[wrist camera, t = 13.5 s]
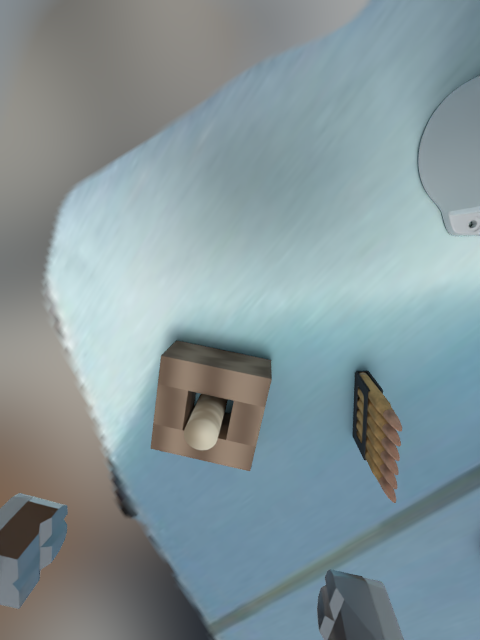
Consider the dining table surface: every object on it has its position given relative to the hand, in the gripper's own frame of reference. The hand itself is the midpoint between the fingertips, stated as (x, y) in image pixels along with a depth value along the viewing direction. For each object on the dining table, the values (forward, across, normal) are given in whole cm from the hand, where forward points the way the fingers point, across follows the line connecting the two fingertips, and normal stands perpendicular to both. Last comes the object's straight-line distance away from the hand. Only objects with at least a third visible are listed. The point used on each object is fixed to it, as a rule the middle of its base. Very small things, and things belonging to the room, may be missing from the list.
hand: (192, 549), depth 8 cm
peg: (+31, +3, +13) cm, 34 cm away
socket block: (+31, +3, +13) cm, 34 cm away
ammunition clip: (+31, -18, +10) cm, 38 cm away
